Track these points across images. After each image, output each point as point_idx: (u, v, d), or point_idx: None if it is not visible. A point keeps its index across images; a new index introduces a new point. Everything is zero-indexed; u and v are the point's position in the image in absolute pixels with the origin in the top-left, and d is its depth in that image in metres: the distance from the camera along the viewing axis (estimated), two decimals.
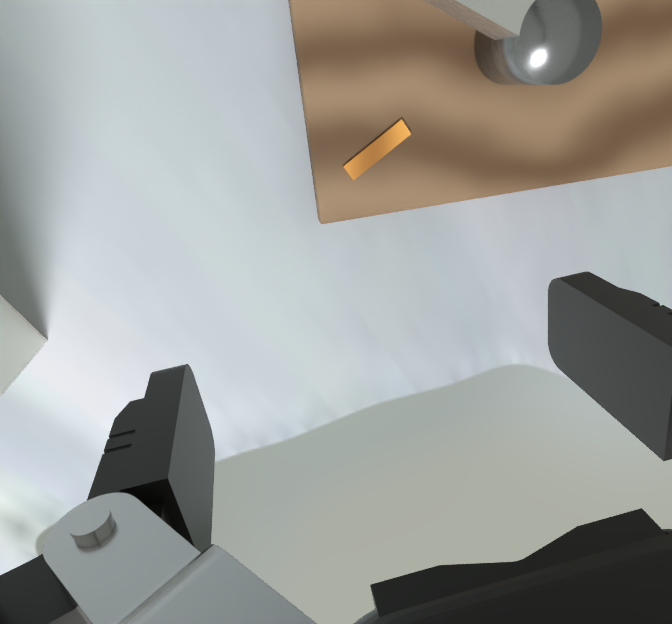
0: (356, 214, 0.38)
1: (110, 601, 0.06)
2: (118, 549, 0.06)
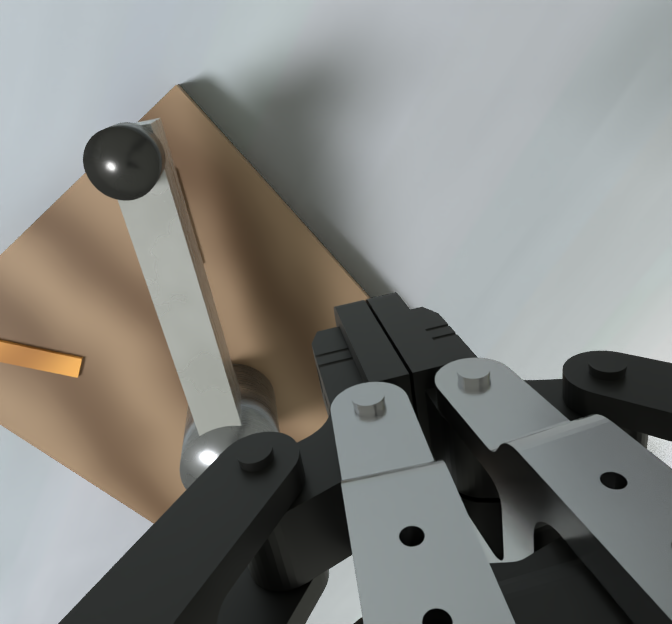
0: None
1: (425, 446, 0.07)
2: (378, 428, 0.08)
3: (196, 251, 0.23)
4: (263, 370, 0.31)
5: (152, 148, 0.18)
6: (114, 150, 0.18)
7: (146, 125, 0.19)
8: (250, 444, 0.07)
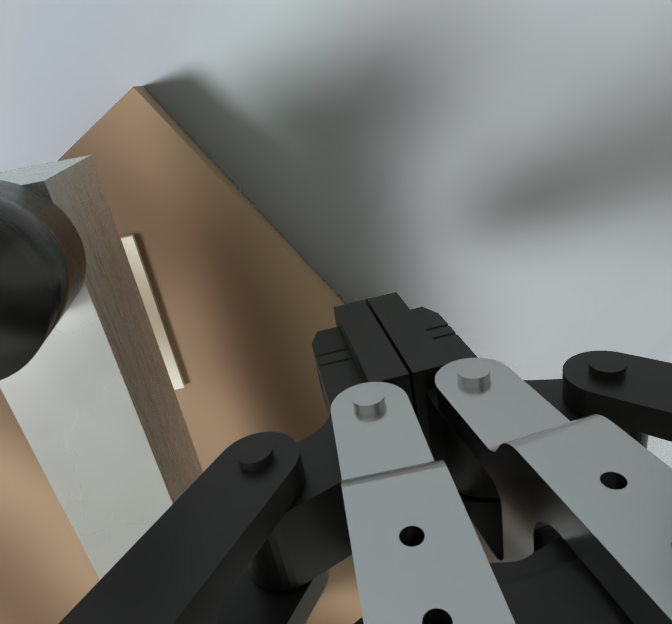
0: None
1: (424, 446, 0.07)
2: (377, 428, 0.08)
3: (167, 406, 0.12)
4: None
5: (25, 261, 0.07)
6: None
7: (34, 185, 0.08)
8: (250, 444, 0.07)
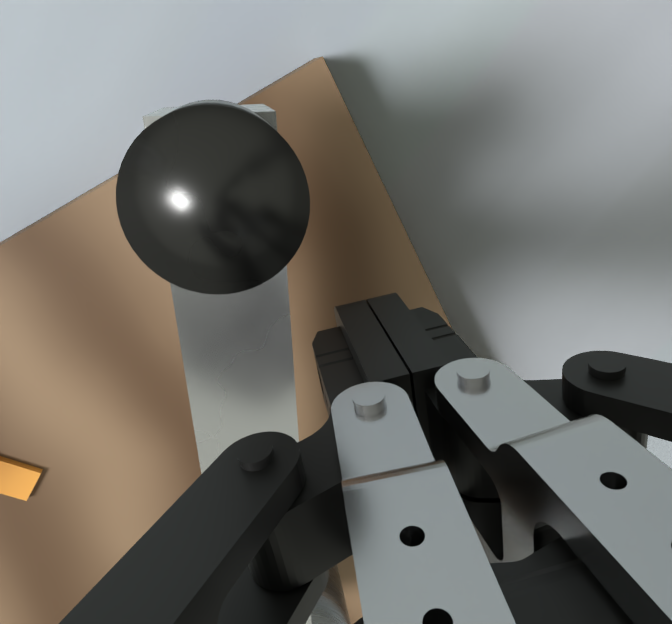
0: None
1: (425, 446, 0.07)
2: (378, 428, 0.08)
3: None
4: None
5: (303, 175, 0.07)
6: (205, 167, 0.07)
7: (265, 114, 0.08)
8: (251, 444, 0.07)
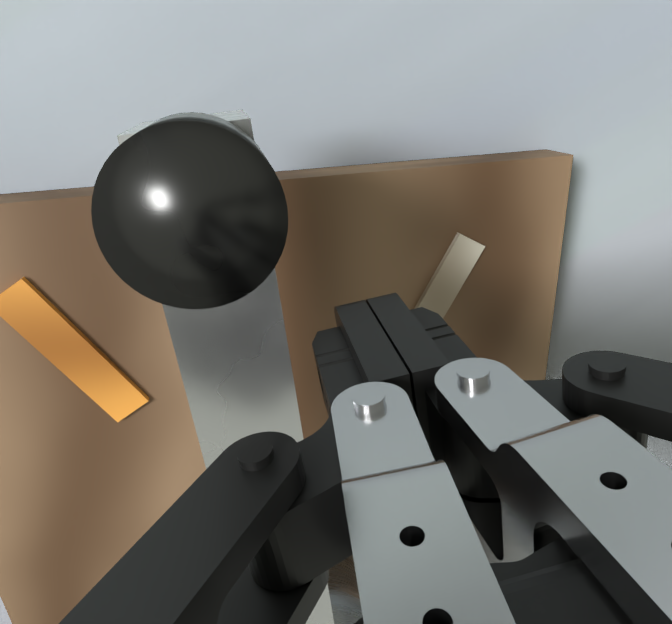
0: None
1: (425, 446, 0.07)
2: (378, 429, 0.08)
3: None
4: None
5: (277, 182, 0.07)
6: (178, 183, 0.07)
7: (240, 122, 0.08)
8: (251, 444, 0.07)
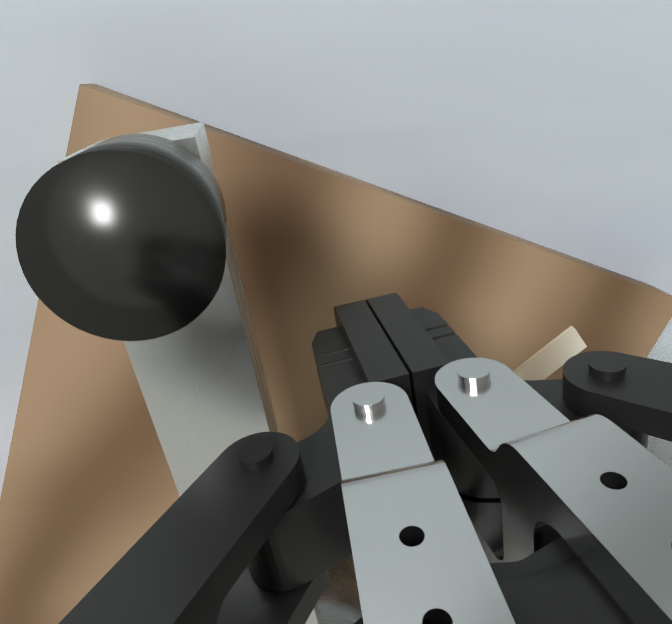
0: None
1: (424, 446, 0.07)
2: (377, 428, 0.08)
3: (263, 381, 0.12)
4: None
5: (210, 208, 0.06)
6: (105, 215, 0.06)
7: (185, 141, 0.08)
8: (250, 444, 0.07)
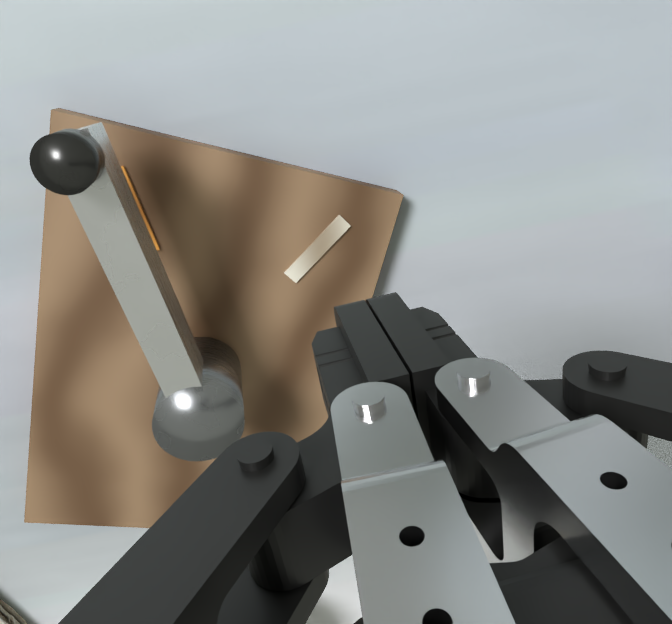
0: None
1: (424, 446, 0.07)
2: (377, 428, 0.08)
3: (146, 236, 0.27)
4: (241, 372, 0.36)
5: (87, 148, 0.21)
6: (55, 153, 0.21)
7: (84, 129, 0.23)
8: (250, 444, 0.07)
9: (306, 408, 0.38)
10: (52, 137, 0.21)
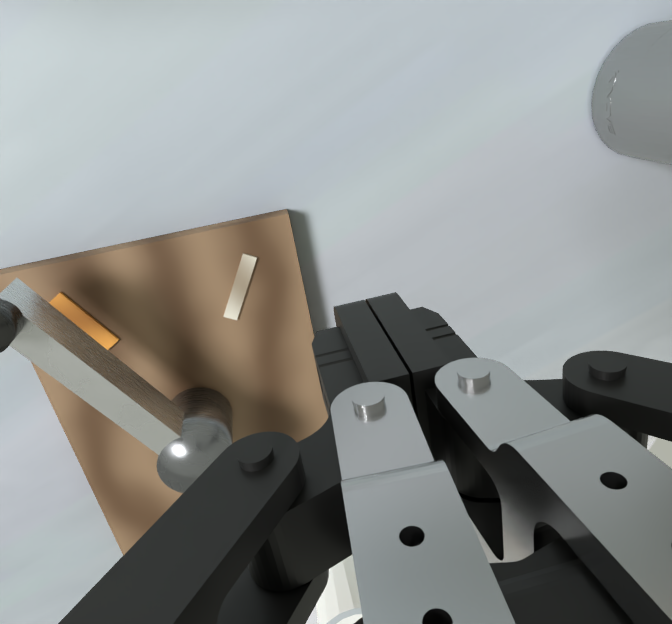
0: None
1: (425, 446, 0.07)
2: (378, 428, 0.08)
3: (87, 344, 0.34)
4: (232, 404, 0.42)
5: None
6: None
7: None
8: (250, 444, 0.07)
9: (300, 411, 0.43)
10: None
